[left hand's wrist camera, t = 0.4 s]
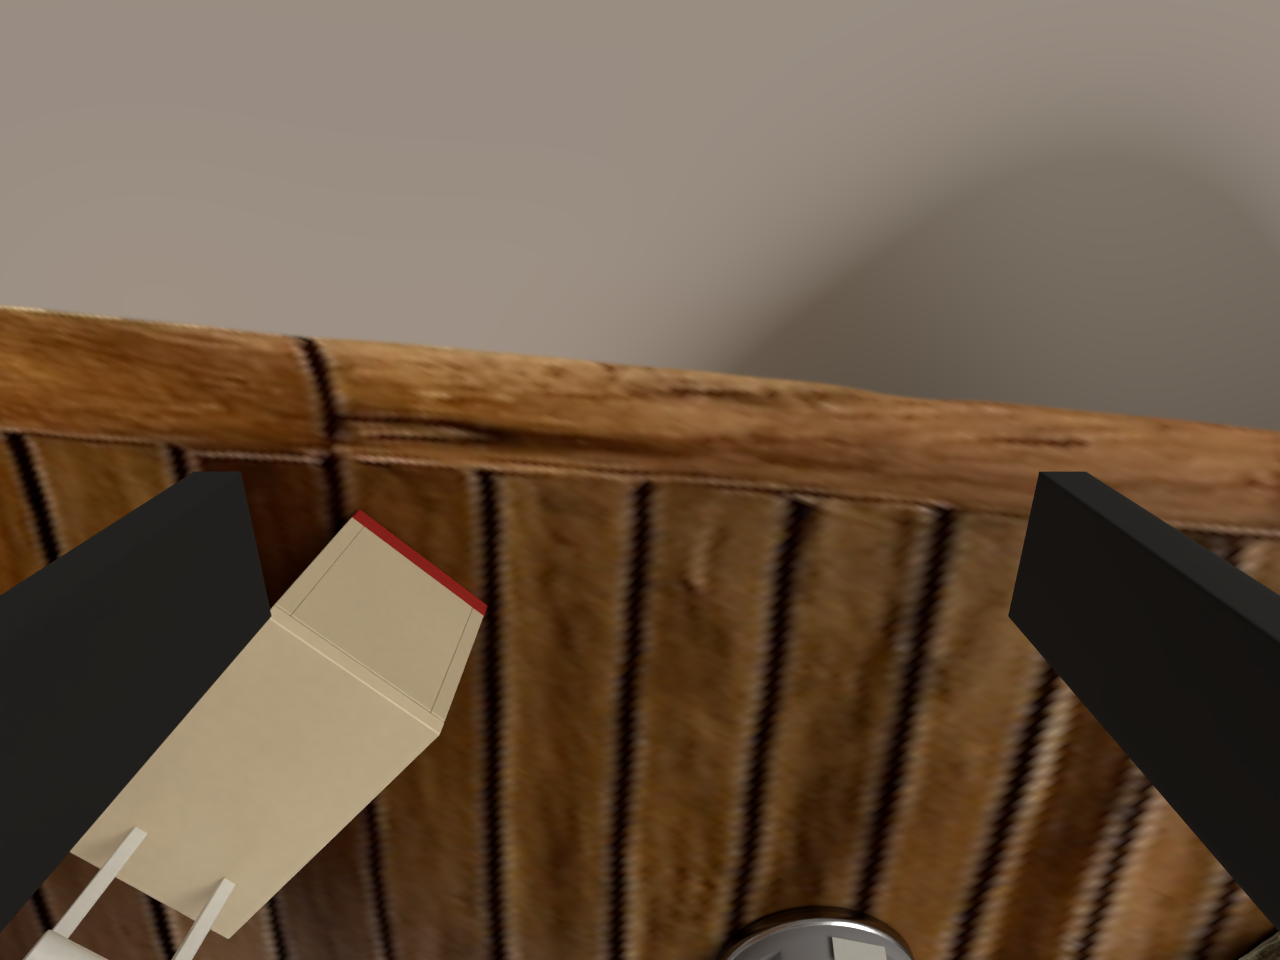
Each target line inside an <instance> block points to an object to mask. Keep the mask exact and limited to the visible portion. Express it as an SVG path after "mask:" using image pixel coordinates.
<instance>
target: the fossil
mask: <svg viewBox="0 0 1280 960" xmlns="http://www.w3.org/2000/svg"><path fill="white" fill-rule="evenodd" d="M1238 960H1280V932H1279V931H1278V932H1277V933H1276V934H1275V935H1274V936H1272V937H1271V938H1269V939H1267V940H1266V941H1264V942H1263V943H1261V944H1260V945H1259V946H1257V947H1256V948H1255V949H1253V950H1252V951H1251V952H1249V953H1248V954H1246V955H1245V956H1243V957H1241V958H1240V959H1238Z"/></svg>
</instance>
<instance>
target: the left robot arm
mask: <svg viewBox="0 0 1280 960" xmlns="http://www.w3.org/2000/svg"><path fill="white" fill-rule="evenodd" d="M271 616H272V615H271V611H270V606H269V601H268V597H267V592H266V587H265V583H264V578H263V573H262V569H261V564H260V559H259V555H258V550H257V546H256V541H255V536H254V532H253V527H252V522H251V518H250V513H249V508H248V504H247V499H246V494H245V490H244V485H243V480H242V476H241V472H193V473H191V474H190V475H188V476H187V477H185V478H183V479H182V480H180V481H179V482H177V483H176V484H174V485H173V486H171V487H169V488H168V489H166V490H165V491H163V492H162V493H160V494H158V495H157V496H155V497H154V498H152V499H151V500H149V501H147V502H146V503H144V504H143V505H141V506H140V507H138V508H137V509H135V510H133V511H132V512H130V513H129V514H127V515H126V516H124V517H122V518H121V519H119V520H118V521H116V522H115V523H113V524H111V525H110V526H108V527H107V528H105V529H104V530H102V531H101V532H99V533H97V534H96V535H94V536H93V537H91V538H90V539H88V540H86V541H85V542H83V543H82V544H80V545H79V546H77V547H75V548H74V549H72V550H71V551H69V552H68V553H66V554H65V555H63V556H61V557H60V558H58V559H57V560H55V561H54V562H52V563H50V564H49V565H47V566H46V567H44V568H43V569H41V570H39V571H38V572H36V573H35V574H33V575H32V576H30V577H29V578H27V579H25V580H24V581H22V582H21V583H19V584H18V585H16V586H14V587H13V588H11V589H10V590H8V591H7V592H5V593H3V594H2V595H0V932H1V931H2V930H3V929H4V928H5V926H6V925H7V924H8V923H9V922H10V921H11V919H12V918H13V917H14V916H15V915H16V914H17V912H18V911H19V910H20V909H21V908H22V907H23V905H24V904H25V903H26V902H27V901H28V900H29V898H30V897H31V896H32V895H33V894H34V893H35V891H36V890H37V889H38V888H39V887H40V886H41V884H42V883H43V882H44V881H45V880H46V879H47V877H48V876H49V875H50V874H51V873H52V872H53V870H54V869H55V868H56V867H57V866H58V865H59V863H60V862H61V861H62V860H63V859H64V858H65V856H66V855H67V854H68V853H69V852H70V851H71V849H72V848H73V847H74V846H75V845H76V844H77V842H78V841H79V840H80V839H81V838H82V837H83V835H84V834H85V833H86V832H87V831H88V830H89V828H90V827H91V826H92V825H93V824H94V823H95V822H96V820H97V819H98V818H99V817H100V816H101V815H102V813H103V812H104V811H105V810H106V809H107V808H108V806H109V805H110V804H111V803H112V802H113V801H114V799H115V798H116V797H117V796H118V795H119V794H120V792H121V791H122V790H123V789H124V788H125V787H126V785H127V784H128V783H129V782H130V781H131V780H132V778H133V777H134V776H135V775H136V774H137V773H138V771H139V770H140V769H141V768H142V767H143V766H144V764H145V763H146V762H147V761H148V760H149V759H150V757H151V756H152V755H153V754H154V753H155V752H156V750H157V749H158V748H159V747H160V746H161V745H162V743H163V742H164V741H165V740H166V739H167V738H168V736H169V735H170V734H171V733H172V732H173V731H174V729H175V728H176V727H177V726H178V725H179V724H180V722H181V721H182V720H183V719H184V718H185V717H186V715H187V714H188V713H189V712H190V711H191V710H192V708H193V707H194V706H195V705H196V704H197V703H198V701H199V700H200V699H201V698H202V697H203V696H204V694H205V693H206V692H207V691H208V690H209V689H210V687H211V686H212V685H213V684H214V683H215V682H216V680H217V679H218V678H219V677H220V676H221V675H222V673H223V672H224V671H225V670H226V669H227V668H228V666H229V665H230V664H231V663H232V662H233V661H234V659H235V658H236V657H237V656H238V655H239V654H240V652H241V651H242V650H243V649H244V648H245V647H246V646H247V644H248V643H249V642H250V641H251V640H252V639H253V637H254V636H255V635H256V634H257V633H258V632H259V630H260V629H261V628H262V627H263V626H264V625H265V623H266V622H267V621H268V620H269V619H270V618H271ZM1008 616H1009V618H1010V619H1011V620H1012V621H1013V622H1014V623H1015V625H1016V626H1017V627H1018V628H1019V629H1020V630H1021V632H1022V633H1023V634H1024V635H1025V636H1026V637H1027V639H1028V640H1029V641H1030V642H1031V643H1032V644H1033V646H1034V647H1035V648H1036V649H1037V650H1038V651H1039V652H1040V654H1041V655H1042V656H1043V657H1044V658H1045V659H1046V661H1047V662H1048V663H1049V664H1050V665H1051V666H1052V668H1053V669H1054V670H1055V671H1056V672H1057V673H1058V675H1059V676H1060V677H1061V678H1062V679H1063V680H1064V682H1065V683H1066V684H1067V685H1068V686H1069V687H1070V689H1071V690H1072V691H1073V692H1074V693H1075V694H1076V696H1077V697H1078V698H1079V699H1080V700H1081V701H1082V703H1083V704H1084V705H1085V706H1086V707H1087V708H1088V710H1089V711H1090V712H1091V713H1092V714H1093V715H1094V717H1095V718H1096V719H1097V720H1098V721H1099V722H1100V724H1101V725H1102V726H1103V727H1104V728H1105V729H1106V731H1107V732H1108V733H1109V734H1110V735H1111V736H1112V738H1113V739H1114V740H1115V741H1116V742H1117V743H1118V745H1119V746H1120V747H1121V748H1122V749H1123V750H1124V752H1125V753H1126V754H1127V755H1128V756H1129V757H1130V759H1131V760H1132V761H1133V762H1134V763H1135V764H1136V766H1137V767H1138V768H1139V769H1140V770H1141V771H1142V773H1143V774H1144V775H1145V776H1146V777H1147V778H1148V780H1149V781H1150V782H1151V783H1152V784H1153V785H1154V787H1155V788H1156V789H1157V790H1158V791H1159V792H1160V794H1161V795H1162V796H1163V797H1164V798H1165V799H1166V801H1167V802H1168V803H1169V804H1170V805H1171V806H1172V808H1173V809H1174V810H1175V811H1176V812H1177V813H1178V815H1179V816H1180V817H1181V818H1182V819H1183V820H1184V822H1185V823H1186V824H1187V825H1188V826H1189V827H1190V828H1191V830H1192V831H1193V832H1194V833H1195V834H1196V835H1197V837H1198V838H1199V839H1200V840H1201V841H1202V842H1203V844H1204V845H1205V846H1206V847H1207V848H1208V849H1209V851H1210V852H1211V853H1212V854H1213V855H1214V856H1215V858H1216V859H1217V860H1218V861H1219V862H1220V863H1221V865H1222V866H1223V867H1224V868H1225V869H1226V870H1227V872H1228V873H1229V874H1230V875H1231V876H1232V877H1233V879H1234V880H1235V881H1236V882H1237V883H1238V884H1239V886H1240V887H1241V888H1242V889H1243V890H1244V891H1245V893H1246V894H1247V895H1248V896H1249V897H1250V898H1251V900H1252V901H1253V902H1254V903H1255V904H1256V905H1257V907H1258V908H1259V909H1260V910H1261V911H1262V912H1263V914H1264V915H1265V916H1266V917H1267V918H1268V919H1269V921H1270V922H1271V923H1272V924H1273V925H1274V926H1275V928H1276V929H1277V930H1278V931H1279V932H1280V595H1278V594H1277V593H1275V592H1273V591H1272V590H1270V589H1269V588H1267V587H1266V586H1264V585H1262V584H1261V583H1259V582H1258V581H1256V580H1255V579H1253V578H1251V577H1250V576H1248V575H1247V574H1245V573H1244V572H1242V571H1241V570H1239V569H1237V568H1236V567H1234V566H1233V565H1231V564H1230V563H1228V562H1226V561H1225V560H1223V559H1222V558H1220V557H1219V556H1217V555H1215V554H1214V553H1212V552H1211V551H1209V550H1208V549H1206V548H1205V547H1203V546H1201V545H1200V544H1198V543H1197V542H1195V541H1194V540H1192V539H1190V538H1189V537H1187V536H1186V535H1184V534H1183V533H1181V532H1179V531H1178V530H1176V529H1175V528H1173V527H1172V526H1170V525H1169V524H1167V523H1165V522H1164V521H1162V520H1161V519H1159V518H1158V517H1156V516H1154V515H1153V514H1151V513H1150V512H1148V511H1147V510H1145V509H1143V508H1142V507H1140V506H1139V505H1137V504H1136V503H1134V502H1133V501H1131V500H1129V499H1128V498H1126V497H1125V496H1123V495H1122V494H1120V493H1118V492H1117V491H1115V490H1114V489H1112V488H1111V487H1109V486H1107V485H1106V484H1104V483H1103V482H1101V481H1100V480H1098V479H1097V478H1095V477H1093V476H1092V475H1090V474H1089V473H1087V472H1039V476H1038V480H1037V485H1036V490H1035V494H1034V499H1033V504H1032V508H1031V513H1030V518H1029V522H1028V527H1027V532H1026V536H1025V541H1024V545H1023V550H1022V555H1021V559H1020V564H1019V569H1018V573H1017V578H1016V583H1015V587H1014V592H1013V597H1012V601H1011V606H1010V611H1009V615H1008ZM717 960H914V957H913V954H912V952H911V950H910V948H909V946H908V944H907V943H906V941H905V940H904V939H903V938H902V936H901V935H900V934H899V933H898V932H896V931H895V930H894V929H893V928H892V927H890V926H889V925H887V924H886V923H884V922H882V921H881V920H879V919H877V918H874V917H872V916H870V915H867V914H864V913H861V912H857V911H854V910H849V909H843V908H834V907H810V908H801V909H795V910H790V911H786V912H782V913H779V914H776V915H772V916H770V917H767V918H765V919H762V920H760V921H758V922H756V923H754V924H753V925H751V926H749V927H748V928H746V929H745V930H743V931H742V932H740V933H739V934H738V935H737V936H735V937H734V938H733V939H732V940H731V941H730V942H729V943H728V944H727V945H726V947H725V948H724V949H723V951H722V952H721V953H720V955H719V957H718V959H717Z"/></svg>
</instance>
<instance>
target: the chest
mask: <svg viewBox="0 0 1280 960" xmlns="http://www.w3.org/2000/svg"><path fill="white" fill-rule="evenodd" d="M274 606H276V607H278V608H279V609H281V610H282V611H284V612H285V613H286V614H288V615H289V616H291V617H292V618H294V619H295V620H297V621H298V622H299V623H301V624H302V625H304V626H305V627H307V628H308V629H310V630H311V631H313V632H314V633H315V634H317V635H318V636H320V637H321V638H323V639H324V640H326V641H327V642H328V643H330V644H331V645H333V646H334V647H336V648H337V649H339V650H340V651H341V652H343V653H344V654H346V655H347V656H349V657H350V658H352V659H353V660H354V661H356V662H357V663H359V664H360V665H362V666H363V667H365V668H366V669H367V670H369V671H370V672H372V673H373V674H375V675H376V676H378V677H379V678H381V679H382V680H383V681H385V682H386V683H388V684H389V685H391V686H392V687H394V688H395V689H396V690H398V691H399V692H401V693H402V694H404V695H405V696H407V697H408V698H409V699H411V700H412V701H414V702H415V703H417V704H418V705H420V706H421V707H422V708H424V709H425V710H427V711H428V712H430V713H431V714H433V715H434V716H436V717H437V718H438V719H440V720H441V721H443V722H444V721H445V719H446V716H447V713H448V711H449V708H450V705H451V703H452V700H453V697H454V694H455V692H456V689H457V686H458V684H459V681H460V678H461V676H462V673H463V670H464V667H465V665H466V662H467V659H468V657H469V654H470V651H471V648H472V646H473V643H474V640H475V638H476V635H477V632H478V629H479V627H480V624H481V621H482V619H483V617H484V615H485V612H486V610H487V607H488V606H487V605H486V604H485V603H483V602H482V601H481V600H479V599H478V598H477V597H475V596H474V595H473V594H471V593H470V592H469V591H467V590H466V589H465V588H463V587H462V586H461V585H459V584H458V583H457V582H455V581H454V580H453V579H452V578H450V577H449V576H448V575H446V574H445V573H444V572H442V571H441V570H440V569H438V568H437V567H436V566H434V565H433V564H432V563H430V562H429V561H428V560H426V559H425V558H424V557H422V556H421V555H420V554H418V553H417V552H416V551H414V550H413V549H412V548H410V547H409V546H408V545H406V544H405V543H404V542H402V541H401V540H400V539H398V538H397V537H396V536H395V535H393V534H392V533H391V532H389V531H388V530H387V529H385V528H384V527H383V526H381V525H380V524H379V523H377V522H376V521H375V520H373V519H372V518H371V517H369V516H368V515H367V514H365V513H364V512H363V511H361V510H360V509H358V510H357V511H356V513H355V514H354V515H353V516H352V517H351V518H350V519H349V521H348V522H347V523H346V524H345V525H344V526H343V527H342V529H341V530H340V531H339V532H338V533H337V534H336V535H335V537H334V538H333V539H332V540H331V541H330V542H329V543H328V545H327V546H326V547H325V548H324V549H323V550H322V551H321V552H320V554H319V555H318V556H317V557H316V558H315V559H314V560H313V561H312V563H311V564H310V565H309V566H308V567H307V568H306V569H305V571H304V572H303V573H302V574H301V575H300V576H299V577H298V578H297V580H296V581H295V582H294V583H293V584H292V585H291V586H290V588H289V589H288V590H287V591H286V592H285V593H284V594H283V595H282V597H281V598H280V599H279V600H278V601H277V602H276V603H275V604H274Z"/></svg>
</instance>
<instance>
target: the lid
mask: <svg viewBox="0 0 1280 960" xmlns="http://www.w3.org/2000/svg"><path fill="white" fill-rule="evenodd" d="M270 611H271V615H272V616H271V618H270V619H269V620H268V621H267V622H266V623H265V625H264V626H263V627H262V628H261V629H260V630H259V632H258V633H257V634H256V635H255V636H254V637H253V639H252V640H251V641H250V642H249V643H248V644H247V646H246V647H245V648H244V649H243V650H242V651H241V652H240V654H239V655H238V656H237V657H236V658H235V659H234V661H233V662H232V663H231V664H230V665H229V666H228V668H227V669H226V670H225V671H224V672H223V673H222V675H221V676H220V677H219V678H218V679H217V680H216V682H215V683H214V684H213V685H212V686H211V687H210V689H209V690H208V691H207V692H206V693H205V694H204V696H203V697H202V698H201V699H200V700H199V701H198V703H197V704H196V705H195V706H194V707H193V708H192V710H191V711H190V712H189V713H188V714H187V715H186V717H185V718H184V719H183V720H182V721H181V722H180V724H179V725H178V726H177V727H176V728H175V729H174V731H173V732H172V733H171V734H170V735H169V736H168V738H167V739H166V740H165V741H164V742H163V743H162V745H161V746H160V747H159V748H158V749H157V750H156V752H155V753H154V754H153V755H152V756H151V757H150V759H149V760H148V761H147V762H146V763H145V764H144V766H143V767H142V768H141V769H140V770H139V771H138V773H137V774H136V775H135V776H134V777H133V778H132V780H131V781H130V782H129V783H128V784H127V785H126V787H125V788H124V789H123V790H122V791H121V792H120V794H119V795H118V796H117V797H116V798H115V799H114V801H113V802H112V803H111V804H110V805H109V806H108V808H107V809H106V810H105V811H104V812H103V813H102V815H101V816H100V817H99V818H98V819H97V820H96V822H95V823H94V824H93V825H92V826H91V827H90V828H89V830H88V831H87V832H86V833H85V834H84V835H83V837H82V838H81V839H80V840H79V841H78V842H77V844H76V845H75V846H74V847H73V848H72V849H71V851H70V852H71V853H72V854H74V855H76V856H78V857H80V858H82V859H83V860H85V861H87V862H89V863H91V864H92V865H94V866H96V867H98V868H100V870H99V871H98V873H97V874H96V875H95V876H94V878H93V879H92V880H91V881H90V883H89V884H88V885H87V886H86V888H85V889H84V890H83V891H82V893H81V894H80V895H79V897H78V898H77V899H76V900H75V902H74V903H73V904H72V905H71V907H70V908H69V909H68V910H67V912H66V913H65V914H64V915H63V917H62V918H61V919H60V920H59V922H58V923H57V924H56V925H55V927H54V928H53V929H52V930H48V931H47V932H46V933H45V934H44V935H43V936H42V937H41V938H40V939H39V941H38V942H37V943H36V944H35V945H34V947H33V948H32V949H31V950H30V951H29V953H28V954H27V955H26V956H25V958H24V959H23V960H108V959H106V958H104V957H102V956H100V955H98V954H96V953H94V952H92V951H90V950H88V949H87V948H85V947H83V946H81V945H79V944H77V943H75V942H73V941H71V940H69V939H68V938H69V936H70V935H71V934H72V933H73V931H74V930H75V929H76V927H77V926H78V925H79V923H80V922H81V921H82V919H83V918H84V917H85V916H86V914H87V913H88V912H89V910H90V909H91V908H92V906H93V905H94V904H95V903H96V901H97V900H98V899H99V897H100V896H101V895H102V893H103V892H104V891H105V889H106V888H107V887H108V886H109V884H110V883H111V882H112V880H113V879H114V878H115V877H116V878H118V879H120V880H122V881H123V882H125V883H127V884H129V885H131V886H132V887H134V888H136V889H138V890H140V891H142V892H143V893H145V894H147V895H149V896H151V897H153V898H154V899H156V900H158V901H160V902H162V903H163V904H165V905H167V906H169V907H171V908H173V909H174V910H176V911H178V912H180V913H182V914H183V915H185V916H187V917H189V918H191V919H193V920H194V921H195V922H194V924H193V925H192V927H191V929H190V930H189V932H188V933H187V935H186V937H185V938H184V940H183V942H182V943H181V945H180V947H179V948H178V950H177V951H176V953H175V955H174V956H173V958H172V960H192V959H193V957H194V956H195V954H196V952H197V950H198V949H199V947H200V945H201V944H202V942H203V940H204V938H205V937H206V935H207V933H208V932H209V930H210V929H211V930H213V931H214V932H216V933H218V934H220V935H222V936H223V937H225V938H227V939H229V938H230V937H231V936H232V935H233V934H234V933H235V932H236V931H237V930H238V929H239V928H241V927H242V926H243V925H244V924H245V923H246V922H247V921H248V920H249V919H250V918H251V917H252V916H253V915H254V914H255V913H256V912H257V911H258V910H259V909H260V908H261V907H262V906H263V905H264V904H265V903H266V902H267V901H268V900H269V899H270V898H271V897H273V896H274V895H275V894H276V893H277V892H278V891H279V890H280V889H281V888H282V887H283V886H284V885H285V884H286V883H287V882H288V881H289V880H290V879H291V878H292V877H293V876H294V875H295V874H296V873H297V872H298V871H299V870H300V869H301V868H302V867H304V866H305V865H306V864H307V863H308V862H309V861H310V860H311V859H312V858H313V857H314V856H315V855H316V854H317V853H318V852H319V851H320V850H321V849H322V848H323V847H324V846H325V845H326V844H327V843H328V842H329V841H330V840H331V839H332V838H333V837H334V836H336V835H337V834H338V833H339V832H340V831H341V830H342V829H343V828H344V827H345V826H346V825H347V824H348V823H349V822H350V821H351V820H352V819H353V818H354V817H355V816H356V815H357V814H358V813H359V812H360V811H361V810H362V809H363V808H364V807H365V806H367V805H368V804H369V803H370V802H371V801H372V800H373V799H374V798H375V797H376V796H377V795H378V794H379V793H380V792H381V791H382V790H383V789H384V788H385V787H386V786H387V785H388V784H389V783H390V782H391V781H392V780H393V779H394V778H395V777H396V776H397V775H399V774H400V773H401V772H402V771H403V770H404V769H405V768H406V767H407V766H408V765H409V764H410V763H411V762H412V761H413V760H414V759H415V758H416V757H417V756H418V755H419V754H420V753H421V752H422V751H423V750H424V749H425V748H426V747H427V746H428V745H430V744H431V743H432V742H433V741H434V740H435V739H436V738H437V737H438V736H439V735H440V732H441V730H442V727H443V724H444V722H443V721H441V720H440V719H438V718H437V717H436V716H434V715H433V714H431V713H430V712H428V711H427V710H425V709H424V708H422V707H421V706H420V705H418V704H417V703H415V702H414V701H412V700H411V699H409V698H408V697H407V696H405V695H404V694H402V693H401V692H399V691H398V690H396V689H395V688H394V687H392V686H391V685H389V684H388V683H386V682H385V681H383V680H382V679H381V678H379V677H378V676H376V675H375V674H373V673H372V672H370V671H369V670H367V669H366V668H365V667H363V666H362V665H360V664H359V663H357V662H356V661H354V660H353V659H352V658H350V657H349V656H347V655H346V654H344V653H343V652H341V651H340V650H339V649H337V648H336V647H334V646H333V645H331V644H330V643H328V642H327V641H326V640H324V639H323V638H321V637H320V636H318V635H317V634H315V633H314V632H313V631H311V630H310V629H308V628H307V627H305V626H304V625H302V624H301V623H299V622H298V621H297V620H295V619H294V618H292V617H291V616H289V615H288V614H286V613H285V612H284V611H282V610H281V609H279V608H278V607H276V606H273V607H272V608H271V609H270Z"/></svg>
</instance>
